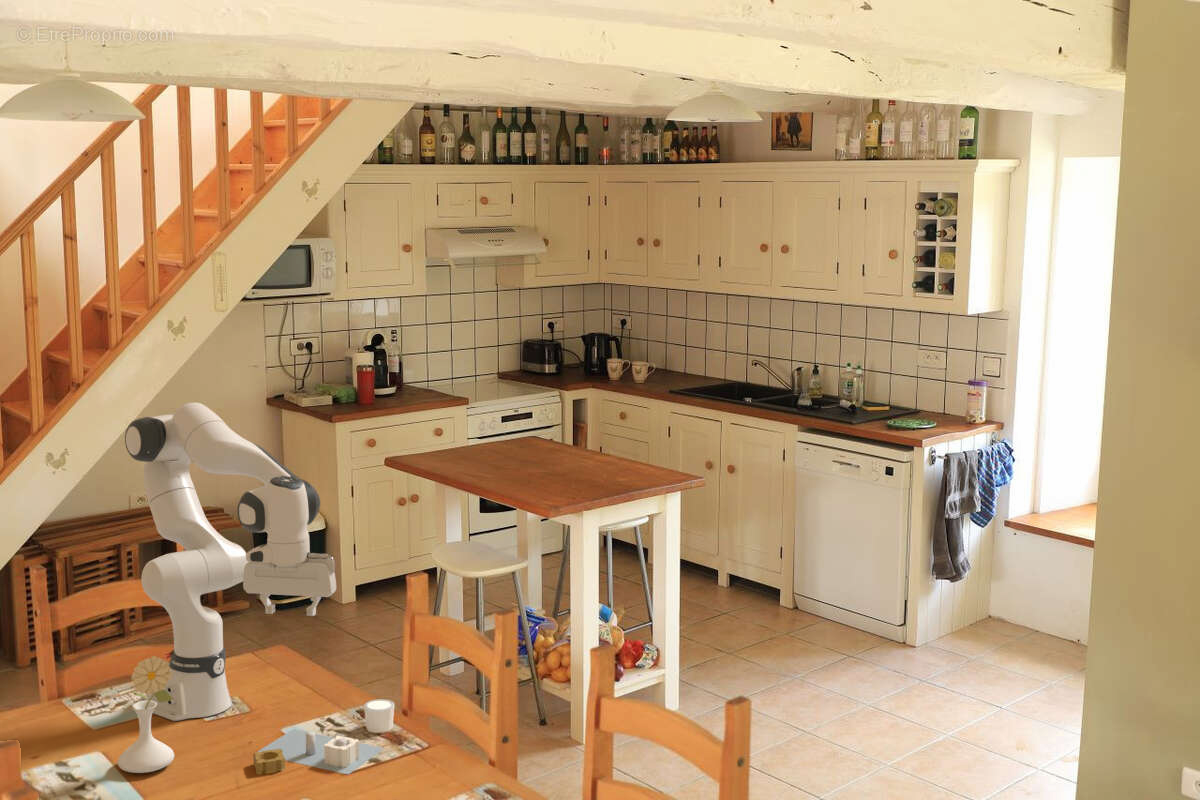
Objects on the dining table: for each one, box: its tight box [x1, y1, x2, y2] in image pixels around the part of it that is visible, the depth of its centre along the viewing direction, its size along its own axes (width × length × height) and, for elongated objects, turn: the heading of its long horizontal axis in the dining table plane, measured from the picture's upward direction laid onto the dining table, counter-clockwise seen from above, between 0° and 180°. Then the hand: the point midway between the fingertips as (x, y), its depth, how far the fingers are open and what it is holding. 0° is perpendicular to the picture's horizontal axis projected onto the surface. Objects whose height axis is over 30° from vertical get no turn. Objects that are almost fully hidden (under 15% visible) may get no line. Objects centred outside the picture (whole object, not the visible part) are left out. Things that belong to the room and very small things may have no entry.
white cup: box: [363, 698, 396, 734], centre depth 273 cm, size 7×7×7 cm
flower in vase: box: [117, 655, 175, 774], centre depth 253 cm, size 13×11×25 cm
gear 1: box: [253, 749, 286, 775], centre depth 253 cm, size 7×7×4 cm
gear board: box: [257, 728, 385, 775], centre depth 261 cm, size 24×14×6 cm, turn 68°
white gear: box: [324, 735, 360, 768], centre depth 256 cm, size 7×7×4 cm
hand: (290, 614), depth 260 cm, fingers open, 8 cm apart
